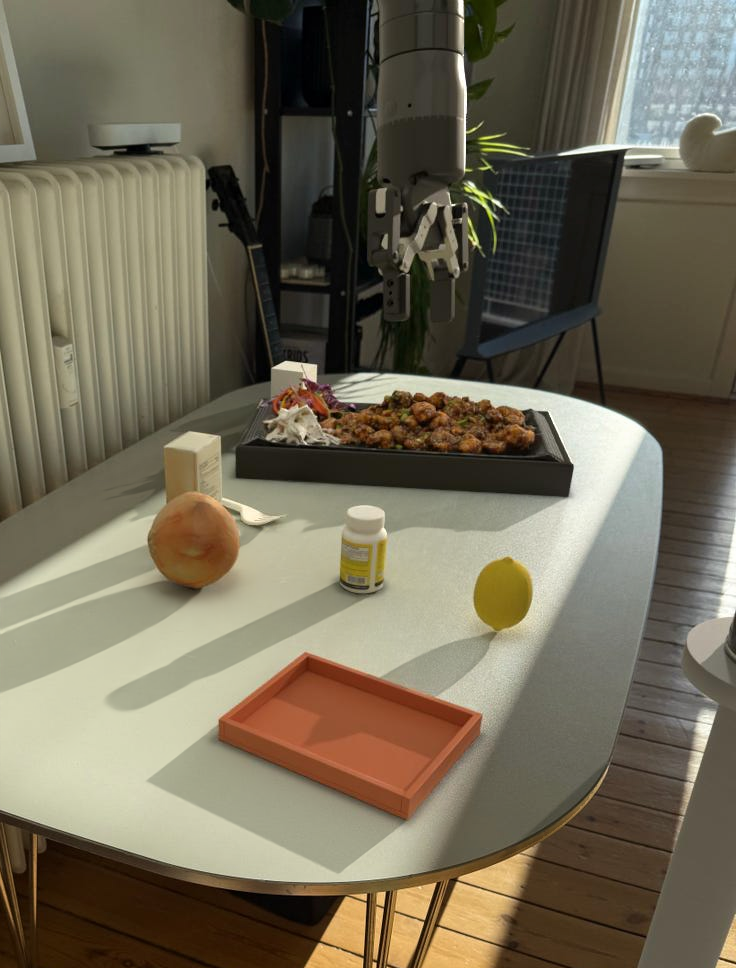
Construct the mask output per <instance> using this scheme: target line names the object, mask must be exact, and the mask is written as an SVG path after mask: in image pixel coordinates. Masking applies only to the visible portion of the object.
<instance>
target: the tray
mask: <svg viewBox="0 0 736 968" xmlns="http://www.w3.org/2000/svg"><path fill="white" fill-rule="evenodd" d="M482 721H483V713H481V712H478V711H475V710H472V709H470V708H467V707H464V706H461V705H458V704H455V703H452V702H449V701H447V700H443V699H441V698H438V697H436V696H432V695H430V694H426V693H424V692H421V691H419V690H416V689H413V688H410V687H407V686H404V685H402V684H398V683H396V682H394V681H393V682H392V681H390V680H387V679H385V678H382V677H378V676H376V675H372V674H370V673H366V672H364V671H362V670H358V669H356V668H353V667H350V666H347V665H344V664H341V663H338V662H337V661H333V660H330V659H327V658H324V657H321V656H318V655H316V654H313V653H310V652H307V651H305V652H303V653H301V654H300V655H299V656H298V657H297V658H295V659H294V660H293V661H292V662H290V663H289V664H287V665H286V666H284V668H283V669H281V670H280V671H279V672H277V673H276V674H275V675H274V676H272V677H271V678H269V679H268V680H266V682H264V683H263V684H262V685H260V686H259V687H258V688H257V689H256V690H254V691H253V692H251V693H250V694H249V695H248V696H247V697H245V698H244V699H243V700H241V701H240V702H238V703H237V704H235V706H233V707H232V708H231V709H230V710H229V711H227V712H226V713H225V714H224V715H222V716H220V717H219V718H218V720H217V722H218V723H217V724H218V740H220V741H222V742H223V743H226V744H228V745H231V746H233V747H236V748H238V749H241V750H243V751H245V752H247V753H250V754H253V755H255V756H257V757H259V758H261V759H264V760H266V761H268V762H271V763H273V764H275V765H278V766H280V767H281V768H284V769H287V770H290V771H292V772H294V773H296V774H299V775H301V776H303V777H306V778H308V779H311V780H313V781H315V782H317V783H319V784H322V785H324V786H327V787H329V788H331V789H333V790H335V791H338V792H340V793H343V794H345V795H348V796H350V797H353V798H354V799H357V800H358V801H362V802H364V803H366V804H369V805H371V806H373V807H376V808H378V809H380V810H381V811H382V810H383V811H385V812H387V813H388V814H389V813H390V814H391V815H393V816H397V817H398V818H402V819H404V820H405V821H408V820H409V819H410V818H411V816H412V815H413V814H414V813H415V811H417V809H418V808H419V807H420V806H421V805H422V803H423V802H424V801H425V800H426V798H427V797H428V796H429V795H430V794H431V792H433V790H434V789H435V788H436V787H437V785H439V783H440V782H441V781H442V779H443V778H444V777H445V776H446V775H447V774H448V772H449V771H450V770H451V769H452V768H453V766H454V765H455V764H456V763H457V761H458V760H459V759H460V758H461V757H462V756H463V754H465V752H466V751H467V750H468V749H469V747H470V746H471V744H472V743H474V741H475V740H476V739H477V738H478V736H479V735H480V734H481V727H482Z"/></svg>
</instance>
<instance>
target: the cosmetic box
mask: <svg viewBox="0 0 736 968" xmlns="http://www.w3.org/2000/svg"><path fill="white" fill-rule="evenodd" d="M163 462H164V479H165V480H164V481H165V499H166V505H167V504H168V503H169V502H170V501H171V500H173V499H174V498H176V497H178V496H180V495H182V494H184V493H186V492H190V491H196V492H199V493H202V494H205V495H208V496H210V497H212V498H214V499H215V500H216V501H218V502H219V503H220V504H221V505H222V498H223V490H222V489H223V487H222V486H223V483H222V481H223V479H222V477H223V476H222V437H221V435H216V434H210V433H203V432H197V431H191V430H188V431H187V432H185V433H183V434H181V435H180V436H178V437H177V438H175V439H173V440H172V441H170V442H169V443H167V444H165V445H164V446H163ZM222 506H223V505H222Z"/></svg>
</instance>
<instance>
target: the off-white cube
mask: <svg viewBox="0 0 736 968" xmlns="http://www.w3.org/2000/svg"><path fill="white" fill-rule="evenodd" d="M301 364H302V366H303V369H304V371H305V373H304V371H303V369H302V367H301ZM305 374H306V376H307V378H308V379H310V380H312V381H314V382H316V383H317V379H318V378H317V377H318V364H314V363H305V362H297V361H290V360H285V361H283V362H281V363H279V364H277V365H275V366H273V367H270V398H272V397H274V396H276V395H280V394H281V393H282V392H283V391H280V389H279V388H281V389H283V390H286V389H288V388H290V384H289V382H290V383H291V385H293V386H298V387H301V388H302V389H307V388H306V387H305V384H304V382H303V381H301V380H300V379H299V378H306V376H305ZM288 381H289V382H288ZM299 383H301V384H302V385H301V386H299ZM294 388H295V390H296V391H298V388H297V387H294Z"/></svg>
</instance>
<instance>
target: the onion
mask: <svg viewBox="0 0 736 968" xmlns="http://www.w3.org/2000/svg"><path fill="white" fill-rule="evenodd" d="M152 521H153V522H152V524H151V526H150V529H149V531H148V534H147V539H146V541H147V547H148V550H149V551H148V552H149V555H150V557H151V560H152V562H153V563H154V565H155V567H156V568H157V570H158V571H159V572H160V574H161V575H162V576H163V577H165V578H166V579H167V580H169V581H171V582H173V583H174V584H177V585H180V586H183V587H187V588H192V589H201V588H204V587H207V586H209V585H212V584H214V583H216V582H217V581H219V580H221V578H223V577H224V576H226V575H227V574H228V573H229V572H230V571H231V570H232V569H233V567H234V565H235V564H236V562H237V560H238V557H239V553H240V547H241V541H240V537H241V536H240V532H239V527H238V525H237V522H236V521H235V519H234V517H233V516H232V514H231V513H230V512H229V510H228V509H227V508H226V507H225V506H224V505H221V504H220V503H219V502H218V501H216V500H215V499H214V498H212V497H210V496H208V495H205V494H202V493H199V492H196V491H190V492H186V493H184V494H182V495H180V496H178V497H176V498H174V499H173V500H171V501H170V502H169V503H168V504H167V503H166V504H165V505H164V506H163V507H162V508H161V509H160V510H159V511H158V512H157V514H156V515H155V517H154V519H153V520H152Z"/></svg>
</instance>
